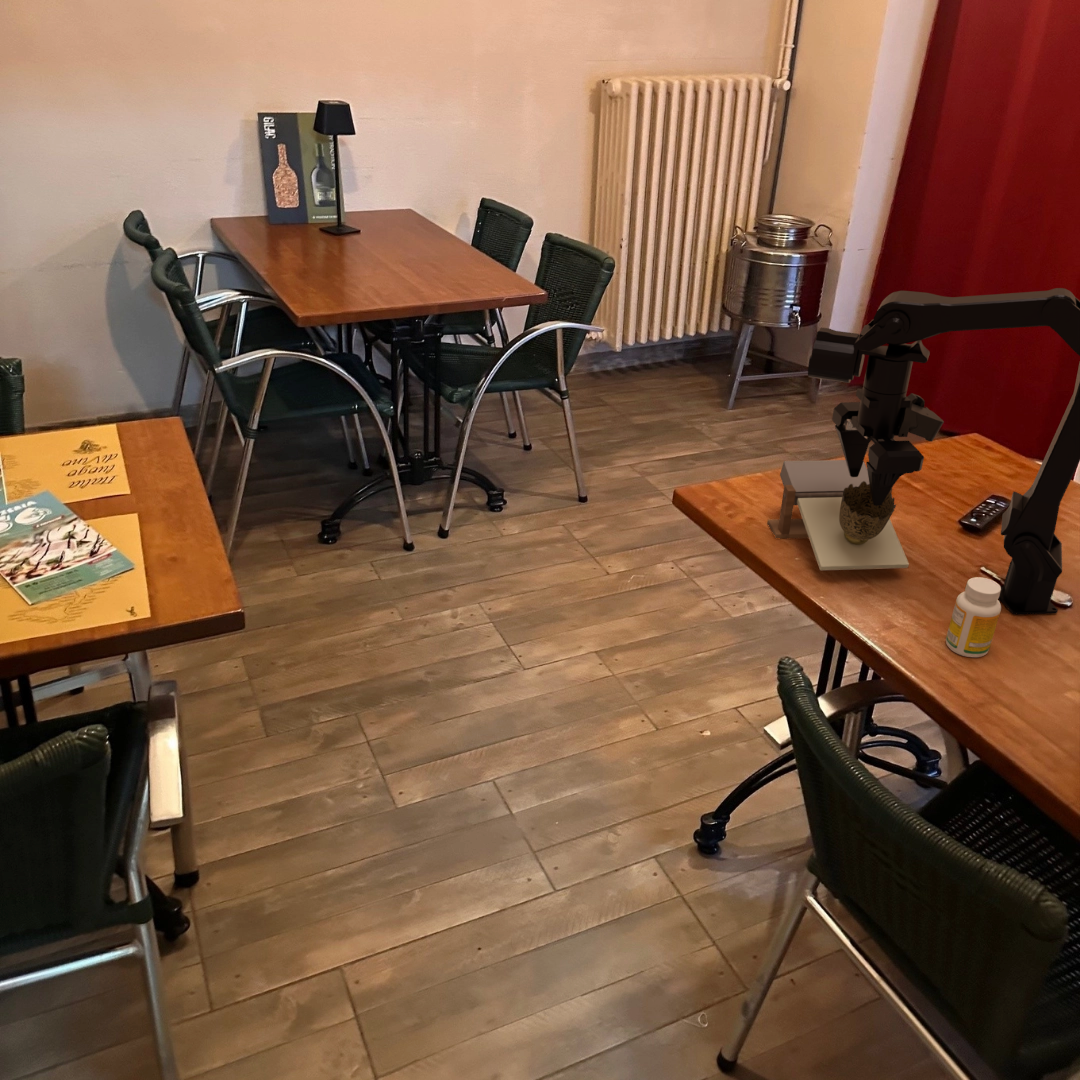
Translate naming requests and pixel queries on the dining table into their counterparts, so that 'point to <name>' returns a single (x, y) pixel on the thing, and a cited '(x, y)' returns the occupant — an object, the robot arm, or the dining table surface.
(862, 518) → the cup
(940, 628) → the dining table surface
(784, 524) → the post frame
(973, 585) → the supplement bottle
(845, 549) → the trapdoor
